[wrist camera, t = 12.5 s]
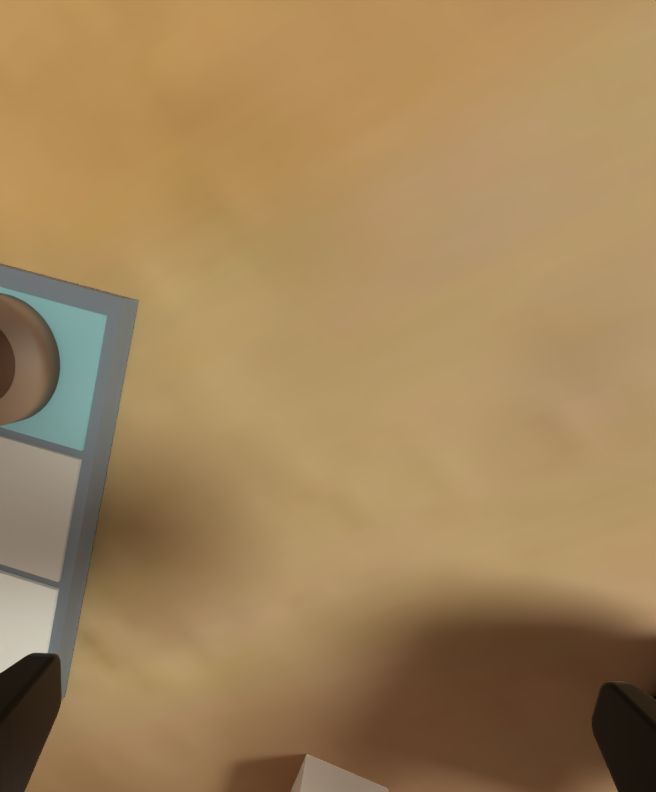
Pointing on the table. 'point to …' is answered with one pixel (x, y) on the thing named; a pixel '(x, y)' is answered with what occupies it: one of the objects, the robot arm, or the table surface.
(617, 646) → the table surface
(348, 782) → the die
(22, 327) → the pawn
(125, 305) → the board
